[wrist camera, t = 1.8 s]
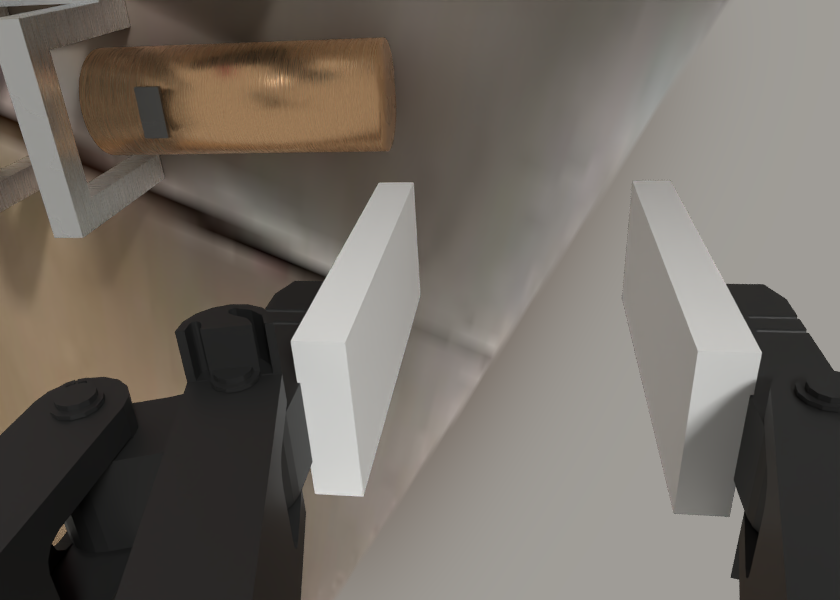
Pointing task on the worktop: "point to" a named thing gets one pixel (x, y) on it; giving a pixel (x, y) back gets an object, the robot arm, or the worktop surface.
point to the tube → (241, 97)
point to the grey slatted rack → (61, 118)
